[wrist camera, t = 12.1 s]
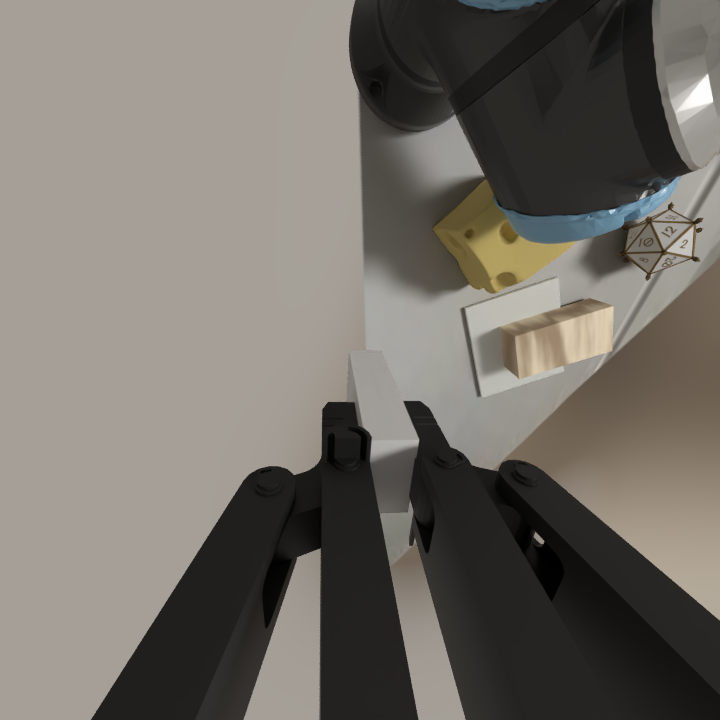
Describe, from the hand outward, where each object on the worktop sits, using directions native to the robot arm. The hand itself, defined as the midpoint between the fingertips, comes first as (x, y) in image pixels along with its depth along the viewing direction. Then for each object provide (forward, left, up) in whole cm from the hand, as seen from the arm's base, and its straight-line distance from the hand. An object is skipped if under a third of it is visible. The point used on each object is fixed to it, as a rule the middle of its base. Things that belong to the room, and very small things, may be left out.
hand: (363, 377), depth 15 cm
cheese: (-6, +19, -33) cm, 38 cm away
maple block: (+10, +26, -30) cm, 41 cm away
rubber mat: (+10, +28, -32) cm, 44 cm away
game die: (-6, +42, -33) cm, 54 cm away
